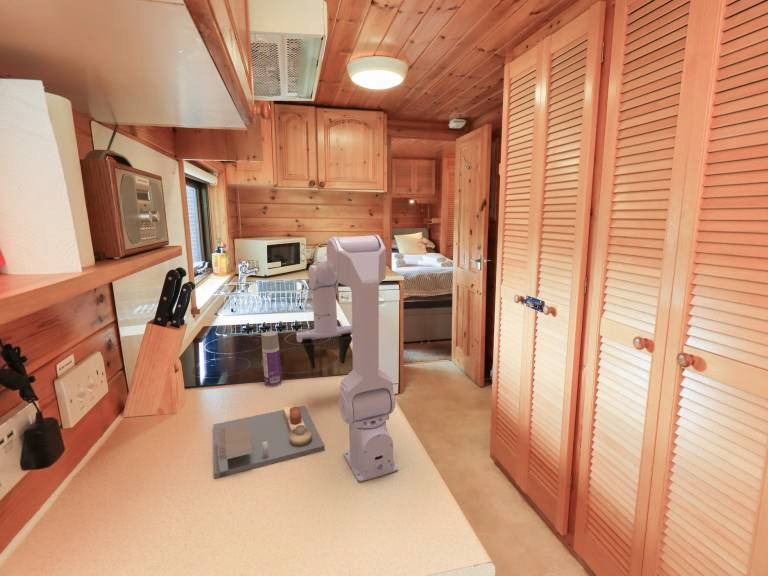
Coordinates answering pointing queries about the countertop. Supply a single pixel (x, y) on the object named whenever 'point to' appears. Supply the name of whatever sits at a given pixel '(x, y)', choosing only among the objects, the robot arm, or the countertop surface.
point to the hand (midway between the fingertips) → (327, 364)
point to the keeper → (232, 444)
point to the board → (267, 441)
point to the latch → (297, 426)
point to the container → (271, 358)
